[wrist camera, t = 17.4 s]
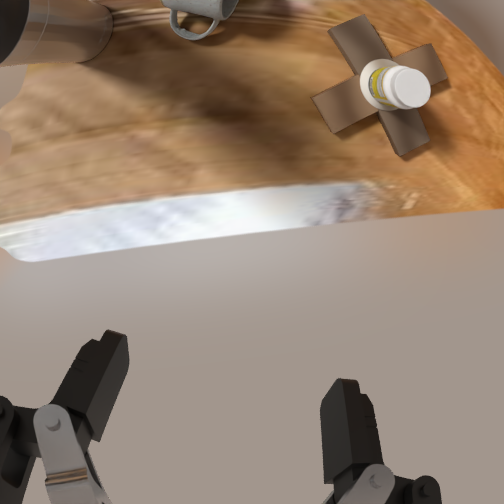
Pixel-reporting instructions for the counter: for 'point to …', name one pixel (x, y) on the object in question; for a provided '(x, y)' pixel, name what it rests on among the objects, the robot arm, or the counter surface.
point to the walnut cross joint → (356, 87)
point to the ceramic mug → (199, 13)
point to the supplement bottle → (399, 87)
